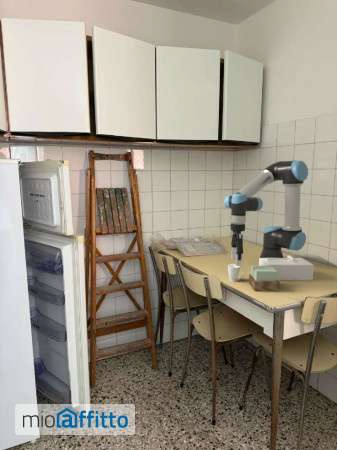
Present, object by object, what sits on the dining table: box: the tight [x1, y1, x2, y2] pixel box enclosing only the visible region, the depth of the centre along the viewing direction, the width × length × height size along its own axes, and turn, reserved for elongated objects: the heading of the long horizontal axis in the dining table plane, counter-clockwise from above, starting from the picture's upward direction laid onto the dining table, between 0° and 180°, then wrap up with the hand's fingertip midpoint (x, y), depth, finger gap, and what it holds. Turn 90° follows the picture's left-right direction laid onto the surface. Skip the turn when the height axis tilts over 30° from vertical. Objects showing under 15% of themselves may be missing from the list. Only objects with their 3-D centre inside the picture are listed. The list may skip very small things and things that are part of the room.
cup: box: [227, 263, 246, 282], centre depth 166 cm, size 7×10×8 cm
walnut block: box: [248, 273, 281, 292], centre depth 156 cm, size 12×12×5 cm
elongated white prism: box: [258, 255, 315, 281], centre depth 173 cm, size 14×25×11 cm, turn 92°
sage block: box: [250, 265, 277, 281], centre depth 155 cm, size 10×10×5 cm
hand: (236, 262), depth 165 cm, fingers open, 13 cm apart
